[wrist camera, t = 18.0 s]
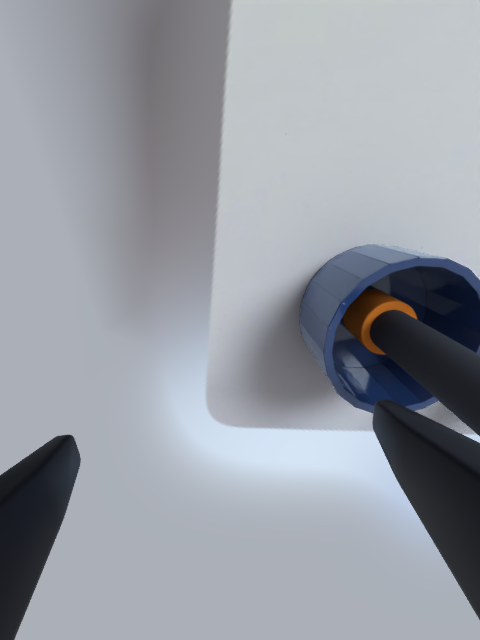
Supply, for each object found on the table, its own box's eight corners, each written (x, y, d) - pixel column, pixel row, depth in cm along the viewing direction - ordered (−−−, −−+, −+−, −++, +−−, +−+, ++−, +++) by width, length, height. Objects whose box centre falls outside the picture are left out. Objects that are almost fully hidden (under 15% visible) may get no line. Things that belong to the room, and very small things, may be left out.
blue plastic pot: (277, 347, 23) (295, 388, 18) (338, 221, 20) (380, 227, 15) (385, 384, 25) (429, 431, 20) (454, 274, 22) (528, 295, 17)
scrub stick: (333, 327, 22) (456, 452, 11) (358, 281, 21) (521, 367, 10) (375, 342, 23) (531, 476, 12) (401, 299, 22) (600, 399, 10)
